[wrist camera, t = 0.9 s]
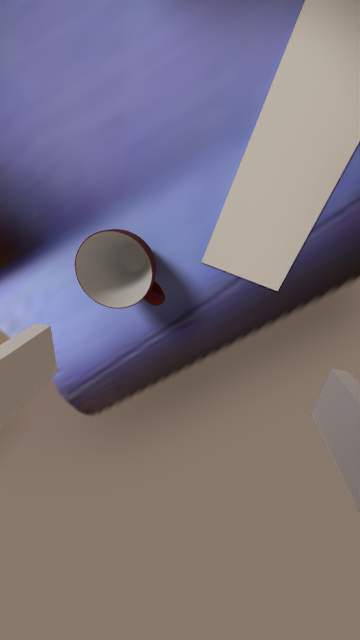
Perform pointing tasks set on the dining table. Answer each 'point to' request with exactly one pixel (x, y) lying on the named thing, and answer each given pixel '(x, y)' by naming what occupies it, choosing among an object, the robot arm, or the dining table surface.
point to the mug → (117, 269)
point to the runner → (294, 147)
